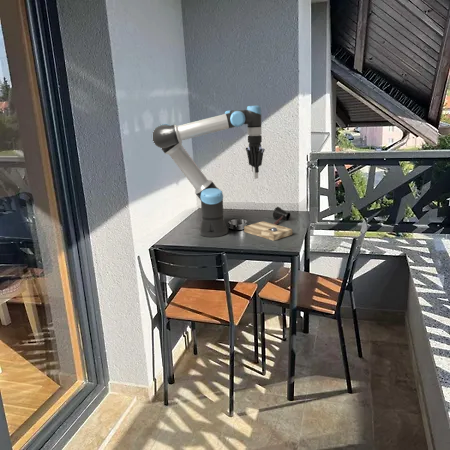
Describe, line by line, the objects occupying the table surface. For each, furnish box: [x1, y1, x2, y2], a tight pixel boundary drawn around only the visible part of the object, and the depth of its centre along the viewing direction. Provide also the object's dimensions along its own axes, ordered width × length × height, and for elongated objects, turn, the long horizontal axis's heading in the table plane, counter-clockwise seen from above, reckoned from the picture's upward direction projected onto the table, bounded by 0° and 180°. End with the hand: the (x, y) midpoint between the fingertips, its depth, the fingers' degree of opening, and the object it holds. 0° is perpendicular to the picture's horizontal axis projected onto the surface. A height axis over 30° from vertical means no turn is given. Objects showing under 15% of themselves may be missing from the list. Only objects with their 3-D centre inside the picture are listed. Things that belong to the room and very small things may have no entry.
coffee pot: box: [272, 206, 291, 225], centre depth 254 cm, size 8×18×8 cm
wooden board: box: [243, 220, 293, 241], centre depth 233 cm, size 14×22×3 cm, turn 40°
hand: (255, 178), depth 244 cm, fingers closed
